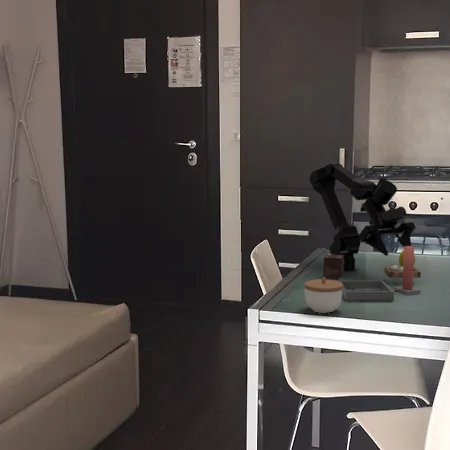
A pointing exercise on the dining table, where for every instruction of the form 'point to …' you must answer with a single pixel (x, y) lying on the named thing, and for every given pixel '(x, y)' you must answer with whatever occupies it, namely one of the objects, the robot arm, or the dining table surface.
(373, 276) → the dining table surface
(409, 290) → the red post on base
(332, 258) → the box
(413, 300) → the dining table surface
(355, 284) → the bin
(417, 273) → the pebble tray
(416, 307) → the dining table surface
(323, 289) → the lidded jar
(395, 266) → the grey sphere
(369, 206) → the robot arm
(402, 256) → the lemon
